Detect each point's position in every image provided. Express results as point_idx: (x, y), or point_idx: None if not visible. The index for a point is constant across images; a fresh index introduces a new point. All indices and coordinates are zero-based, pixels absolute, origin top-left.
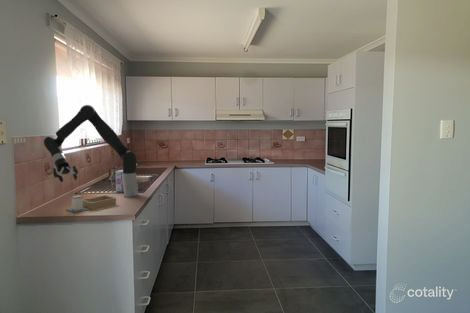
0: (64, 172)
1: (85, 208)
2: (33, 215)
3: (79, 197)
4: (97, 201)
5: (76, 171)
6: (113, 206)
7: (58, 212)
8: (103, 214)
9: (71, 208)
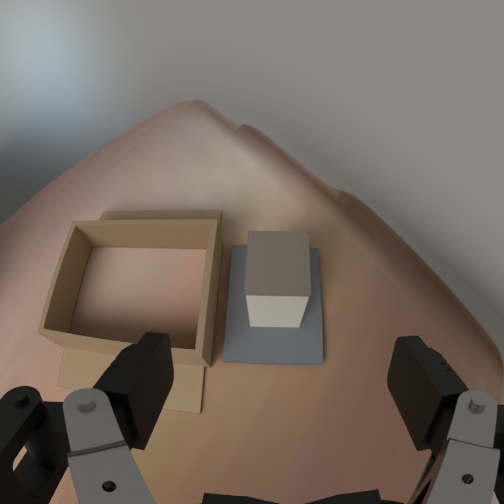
0: (353, 497)
1: (237, 275)
2: (478, 376)
3: (270, 234)
4: (175, 220)
5: (20, 413)
6: (127, 212)
7: (376, 340)
8: (238, 148)
9: (293, 348)
